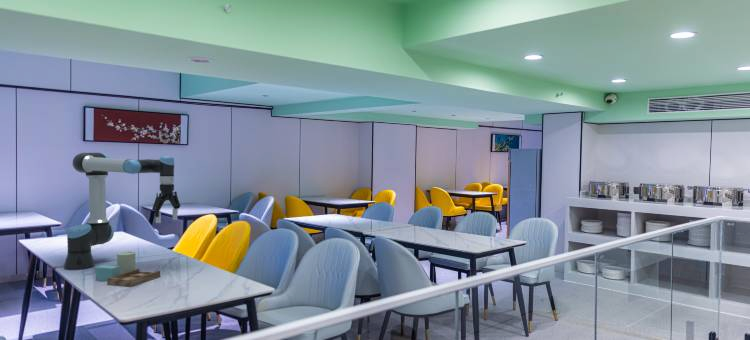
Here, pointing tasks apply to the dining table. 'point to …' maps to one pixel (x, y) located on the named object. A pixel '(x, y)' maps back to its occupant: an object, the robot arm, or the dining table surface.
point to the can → (126, 261)
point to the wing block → (106, 272)
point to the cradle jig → (132, 278)
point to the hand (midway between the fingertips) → (166, 221)
